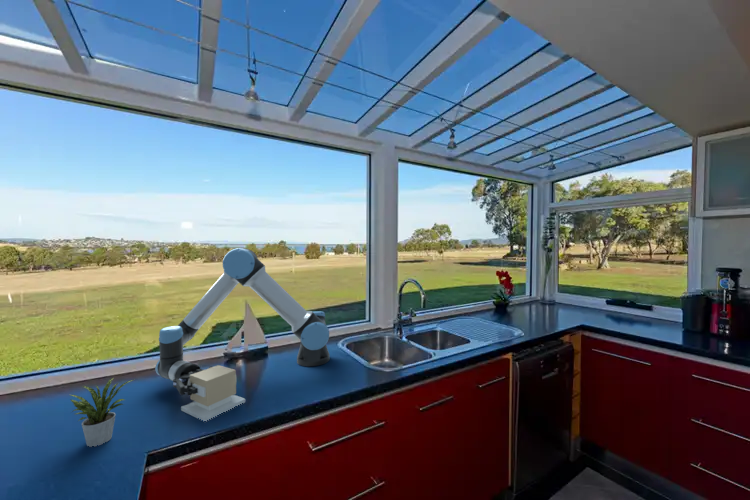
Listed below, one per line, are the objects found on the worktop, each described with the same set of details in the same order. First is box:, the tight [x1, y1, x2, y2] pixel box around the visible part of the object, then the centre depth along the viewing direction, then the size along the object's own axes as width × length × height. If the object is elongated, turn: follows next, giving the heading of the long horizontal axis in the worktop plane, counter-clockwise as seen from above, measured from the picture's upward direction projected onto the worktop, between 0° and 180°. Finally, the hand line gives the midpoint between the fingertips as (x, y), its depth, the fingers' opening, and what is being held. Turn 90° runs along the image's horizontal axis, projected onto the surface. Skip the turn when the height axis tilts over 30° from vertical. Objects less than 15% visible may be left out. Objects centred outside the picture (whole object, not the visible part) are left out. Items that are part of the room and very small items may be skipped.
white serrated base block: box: [180, 394, 246, 422], centre depth 104 cm, size 14×14×10 cm
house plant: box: [70, 377, 134, 448], centre depth 87 cm, size 14×14×16 cm
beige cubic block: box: [189, 364, 237, 406], centre depth 104 cm, size 10×10×8 cm
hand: (220, 385), depth 102 cm, fingers closed on beige cubic block, 10 cm apart
